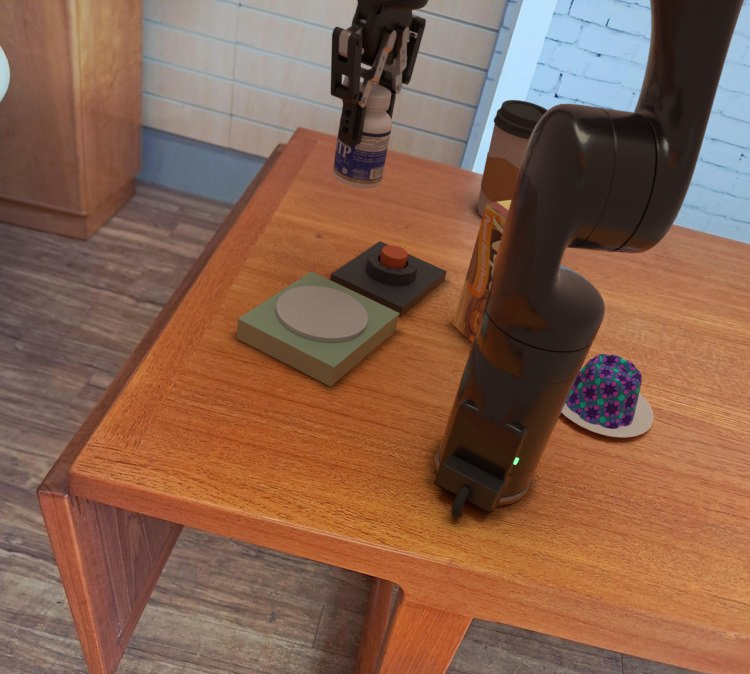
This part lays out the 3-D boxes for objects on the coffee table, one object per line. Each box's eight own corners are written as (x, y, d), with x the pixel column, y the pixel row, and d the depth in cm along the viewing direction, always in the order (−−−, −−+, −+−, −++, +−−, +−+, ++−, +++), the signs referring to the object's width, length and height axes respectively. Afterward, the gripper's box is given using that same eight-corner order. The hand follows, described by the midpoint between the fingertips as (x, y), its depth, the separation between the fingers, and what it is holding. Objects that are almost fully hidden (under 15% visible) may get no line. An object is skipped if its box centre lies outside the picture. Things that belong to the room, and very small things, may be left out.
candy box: (523, 360, 90) (569, 237, 80) (495, 368, 88) (540, 243, 78) (476, 319, 95) (514, 197, 84) (449, 325, 93) (485, 201, 82)
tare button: (397, 273, 94) (400, 261, 93) (374, 262, 95) (377, 251, 94) (409, 263, 96) (412, 252, 95) (387, 253, 97) (390, 242, 96)
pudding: (558, 360, 92) (574, 322, 88) (657, 398, 90) (677, 361, 86) (534, 415, 83) (551, 375, 80) (642, 457, 81) (665, 419, 78)
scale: (330, 387, 80) (335, 362, 78) (236, 338, 83) (238, 313, 81) (395, 331, 90) (400, 308, 88) (308, 289, 93) (311, 266, 90)
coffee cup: (531, 217, 119) (566, 114, 108) (509, 234, 113) (543, 128, 103) (484, 196, 121) (513, 94, 110) (459, 212, 115) (488, 105, 105)
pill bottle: (326, 166, 83) (338, 76, 77) (372, 169, 85) (388, 81, 79) (339, 188, 80) (353, 96, 74) (387, 191, 82) (405, 101, 75)
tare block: (400, 317, 92) (405, 295, 90) (329, 284, 94) (332, 261, 92) (444, 281, 100) (450, 259, 98) (377, 250, 102) (382, 229, 100)
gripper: (394, -47, 62) (359, 167, 74) (469, -57, 72) (428, 133, 83) (315, -73, 64) (293, 139, 75) (398, -79, 74) (368, 110, 85)
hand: (364, 135), depth 79 cm, fingers closed on pill bottle, 5 cm apart
